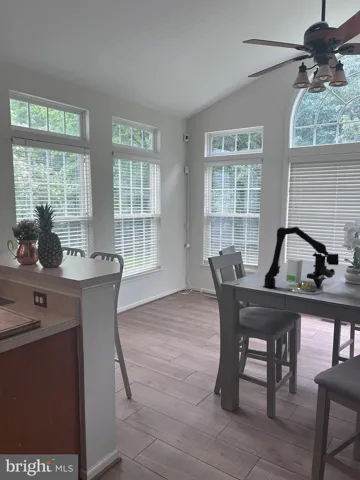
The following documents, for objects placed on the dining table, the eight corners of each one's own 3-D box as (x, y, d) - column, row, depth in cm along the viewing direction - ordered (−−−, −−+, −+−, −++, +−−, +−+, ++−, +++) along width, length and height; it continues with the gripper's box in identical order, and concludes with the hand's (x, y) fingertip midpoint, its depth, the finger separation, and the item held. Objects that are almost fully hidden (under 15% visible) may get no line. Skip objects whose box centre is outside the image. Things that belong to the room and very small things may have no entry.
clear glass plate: (305, 295, 210) (305, 288, 209) (278, 287, 229) (278, 281, 228) (330, 292, 220) (330, 285, 220) (302, 284, 239) (303, 278, 239)
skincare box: (285, 280, 252) (286, 258, 250) (291, 279, 256) (292, 258, 254) (296, 282, 245) (297, 260, 243) (301, 281, 249) (302, 259, 248)
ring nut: (296, 288, 222) (297, 282, 222) (298, 285, 230) (298, 280, 229) (322, 291, 216) (322, 285, 216) (322, 288, 224) (323, 283, 223)
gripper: (324, 267, 205) (322, 293, 207) (340, 264, 217) (338, 289, 218) (306, 264, 214) (305, 289, 216) (323, 261, 226) (322, 285, 227)
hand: (318, 288), depth 219 cm, fingers closed
